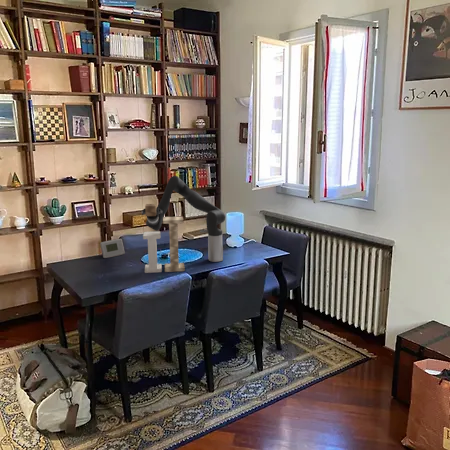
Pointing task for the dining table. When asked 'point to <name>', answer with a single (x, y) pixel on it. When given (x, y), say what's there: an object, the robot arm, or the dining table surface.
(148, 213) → the teal and brown block
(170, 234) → the marbled pedestal stand
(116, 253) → the digital clock
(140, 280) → the dining table surface
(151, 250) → the white column stand
